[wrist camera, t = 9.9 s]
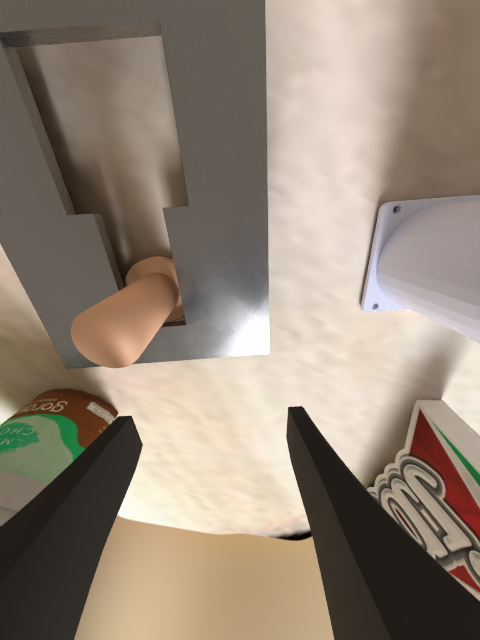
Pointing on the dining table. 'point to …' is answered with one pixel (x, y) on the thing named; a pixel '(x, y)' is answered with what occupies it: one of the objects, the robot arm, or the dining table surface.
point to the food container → (46, 442)
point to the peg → (130, 315)
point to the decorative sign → (438, 489)
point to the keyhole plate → (198, 165)
